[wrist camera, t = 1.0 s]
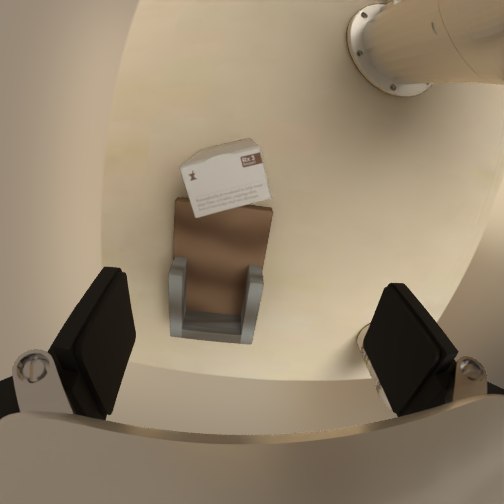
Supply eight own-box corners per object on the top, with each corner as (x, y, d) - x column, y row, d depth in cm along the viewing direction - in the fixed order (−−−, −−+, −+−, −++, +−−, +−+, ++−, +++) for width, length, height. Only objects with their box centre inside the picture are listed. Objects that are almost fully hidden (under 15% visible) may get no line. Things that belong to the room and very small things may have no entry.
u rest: (177, 197, 32) (167, 213, 27) (271, 207, 33) (277, 225, 28) (175, 317, 40) (169, 343, 35) (250, 325, 41) (251, 352, 36)
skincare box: (208, 185, 32) (192, 224, 21) (197, 148, 30) (174, 167, 19) (261, 172, 31) (274, 205, 21) (252, 134, 29) (260, 144, 18)
